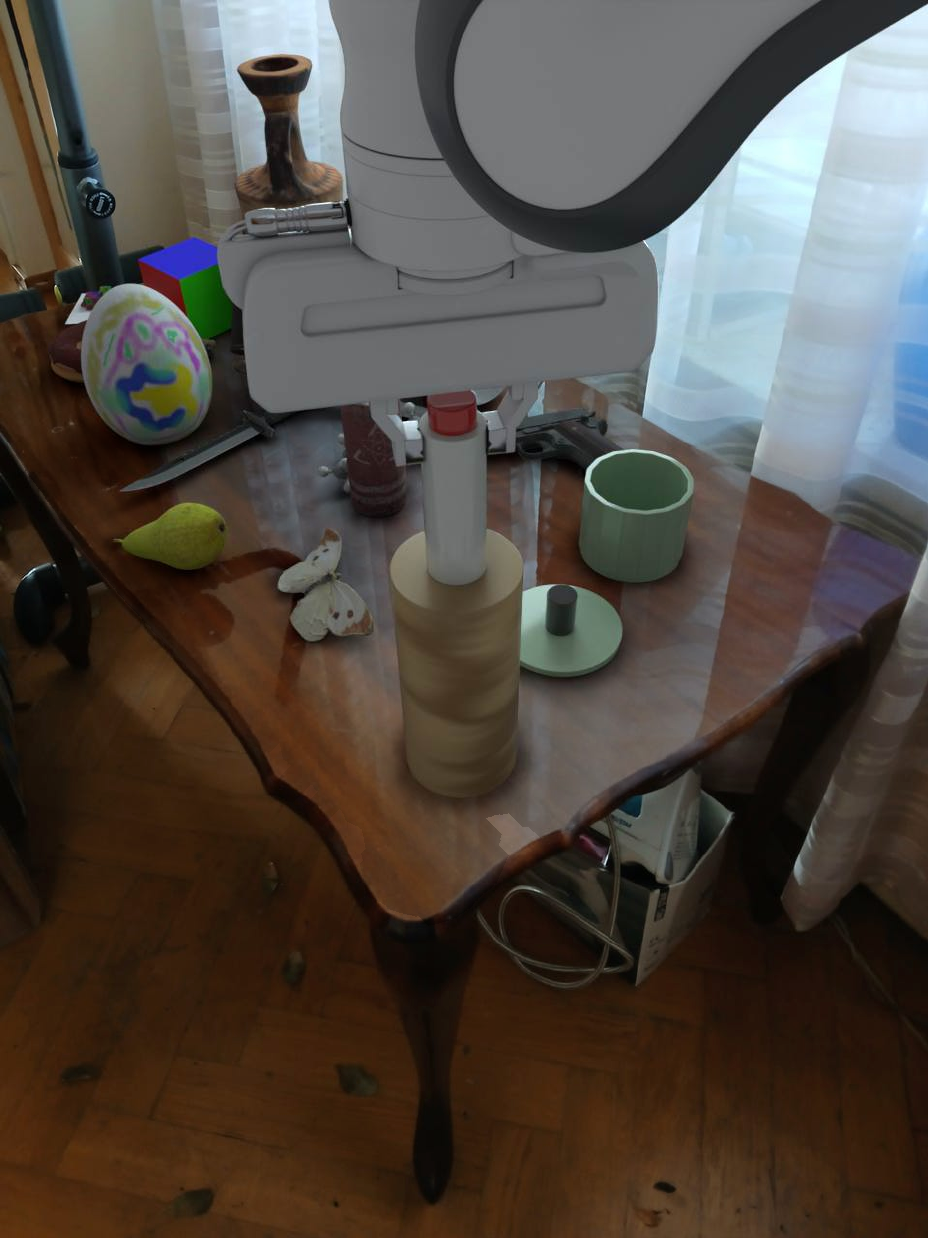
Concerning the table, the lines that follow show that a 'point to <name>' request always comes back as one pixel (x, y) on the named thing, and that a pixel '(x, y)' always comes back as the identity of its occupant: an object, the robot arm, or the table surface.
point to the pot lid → (567, 631)
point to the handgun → (565, 436)
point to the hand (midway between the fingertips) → (454, 453)
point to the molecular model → (340, 468)
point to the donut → (68, 353)
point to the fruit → (180, 537)
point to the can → (371, 463)
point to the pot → (635, 515)
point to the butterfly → (325, 595)
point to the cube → (191, 284)
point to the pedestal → (459, 668)
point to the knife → (212, 448)
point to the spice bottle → (454, 487)
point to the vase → (283, 141)
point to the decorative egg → (145, 366)
